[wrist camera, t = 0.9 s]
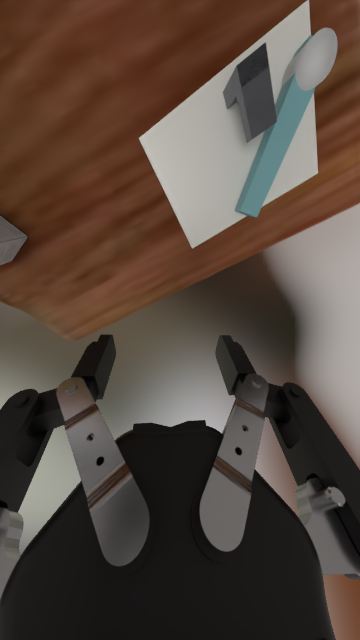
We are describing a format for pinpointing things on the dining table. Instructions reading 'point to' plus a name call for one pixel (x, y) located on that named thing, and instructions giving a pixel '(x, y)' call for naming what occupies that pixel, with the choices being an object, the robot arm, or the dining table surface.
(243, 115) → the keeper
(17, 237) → the light bulb box
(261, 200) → the teal long piece
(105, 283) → the dining table surface
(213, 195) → the board
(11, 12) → the dining table surface
